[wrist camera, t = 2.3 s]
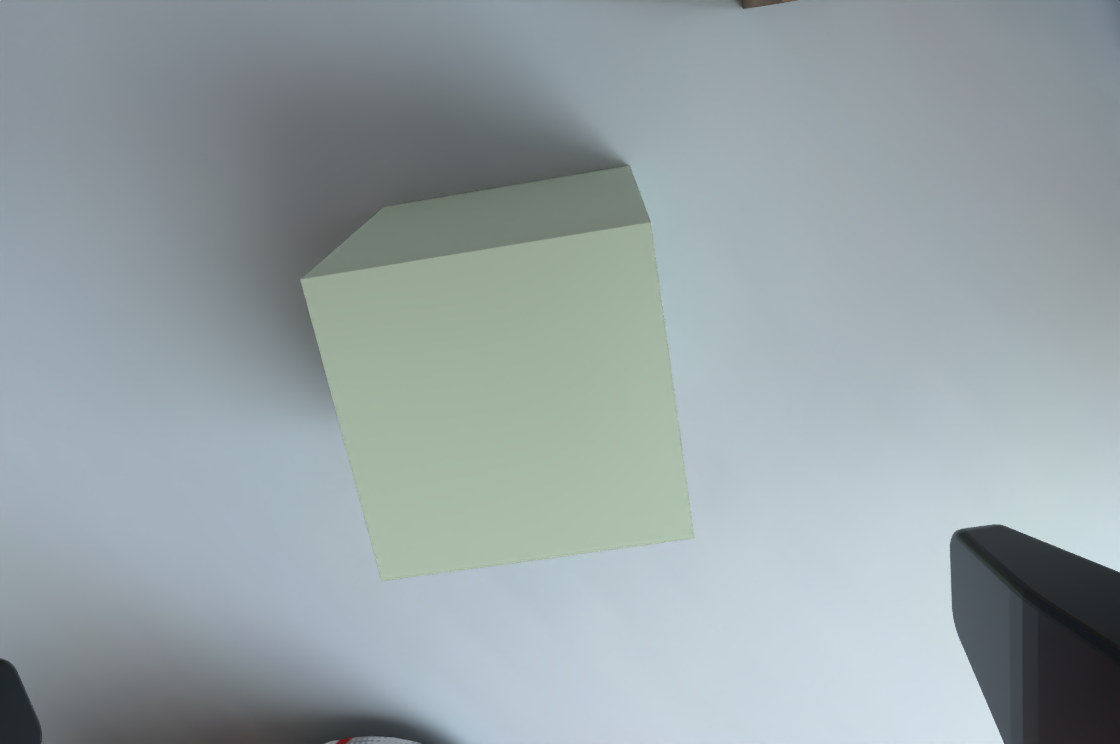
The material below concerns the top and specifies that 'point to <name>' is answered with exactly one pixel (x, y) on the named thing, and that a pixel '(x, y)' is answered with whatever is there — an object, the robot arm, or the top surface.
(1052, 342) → the top surface
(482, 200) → the sage block
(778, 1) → the brown flat block
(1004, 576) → the robot arm
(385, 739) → the soda can
